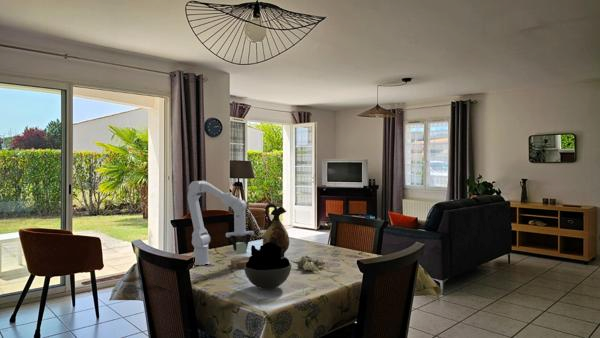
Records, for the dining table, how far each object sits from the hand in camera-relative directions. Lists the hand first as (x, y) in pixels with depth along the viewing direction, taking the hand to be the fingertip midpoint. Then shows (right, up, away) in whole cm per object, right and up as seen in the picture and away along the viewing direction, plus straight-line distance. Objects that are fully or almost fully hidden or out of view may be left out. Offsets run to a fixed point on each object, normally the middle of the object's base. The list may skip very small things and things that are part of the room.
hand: (240, 249), depth 208 cm
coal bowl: (+17, -9, -37) cm, 42 cm away
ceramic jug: (+16, -8, +24) cm, 30 cm away
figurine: (+36, -9, -7) cm, 38 cm away
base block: (+2, -8, +2) cm, 9 cm away
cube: (0, -2, 0) cm, 2 cm away
